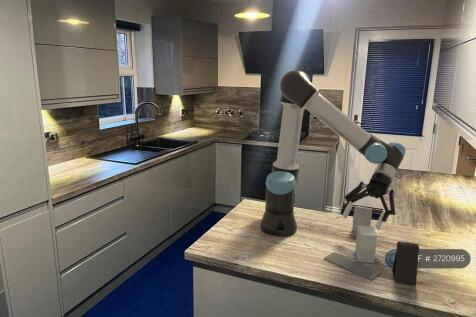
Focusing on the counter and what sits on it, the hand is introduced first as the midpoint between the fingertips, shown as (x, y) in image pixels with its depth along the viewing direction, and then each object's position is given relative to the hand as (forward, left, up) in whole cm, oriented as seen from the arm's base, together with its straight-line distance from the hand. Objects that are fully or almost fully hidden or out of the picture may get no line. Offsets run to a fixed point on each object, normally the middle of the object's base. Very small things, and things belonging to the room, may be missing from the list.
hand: (360, 222), depth 137 cm
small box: (+7, -8, -9) cm, 14 cm away
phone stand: (+22, -10, -9) cm, 26 cm away
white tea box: (-5, +12, -9) cm, 16 cm away
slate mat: (+7, -17, -9) cm, 20 cm away
